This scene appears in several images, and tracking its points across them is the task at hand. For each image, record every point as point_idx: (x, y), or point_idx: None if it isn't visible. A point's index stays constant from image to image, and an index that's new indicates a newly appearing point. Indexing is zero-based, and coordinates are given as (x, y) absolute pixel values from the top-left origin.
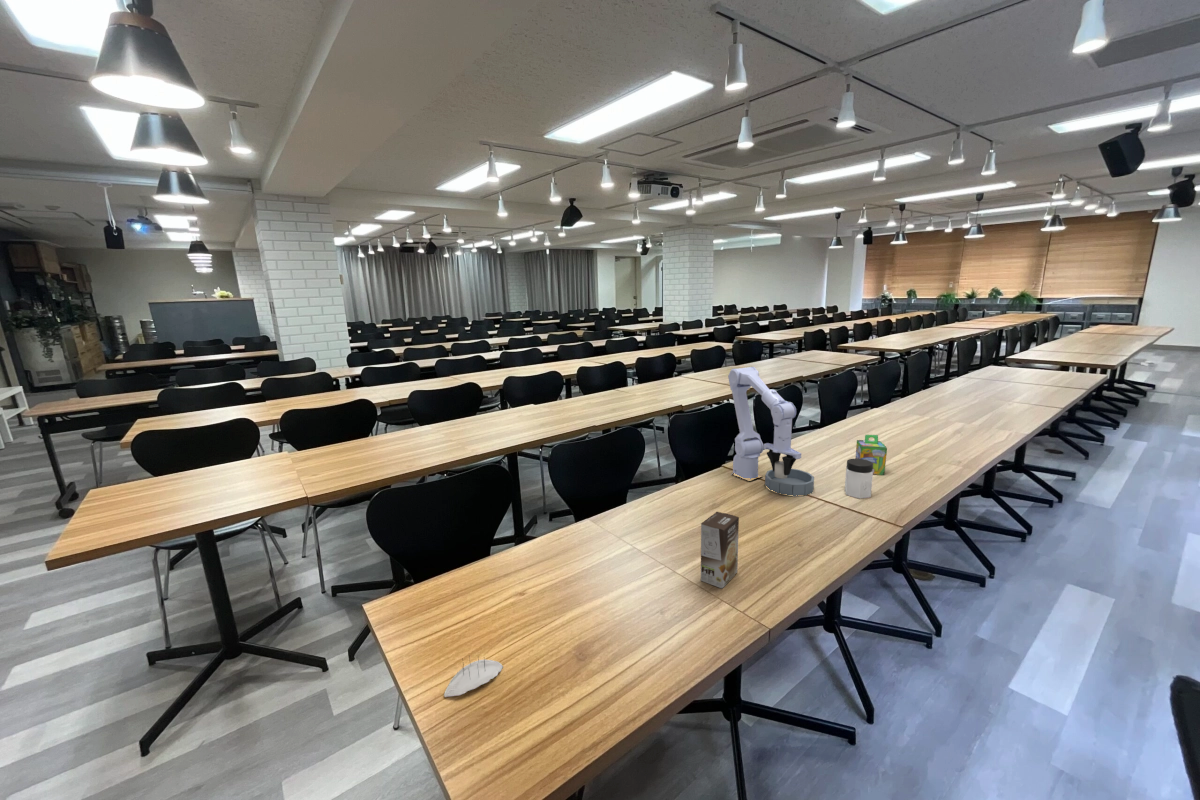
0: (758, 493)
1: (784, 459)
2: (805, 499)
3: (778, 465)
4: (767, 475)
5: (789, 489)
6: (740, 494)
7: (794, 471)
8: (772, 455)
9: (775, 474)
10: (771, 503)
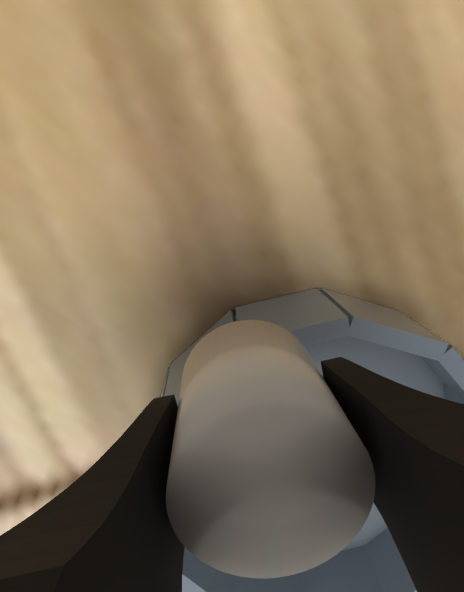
0: (315, 181)
1: (1, 573)
2: (100, 409)
3: (225, 409)
4: (430, 352)
5: (181, 374)
6: (367, 22)
7: (402, 580)
8: (457, 496)
9: (258, 330)
10: (119, 152)
